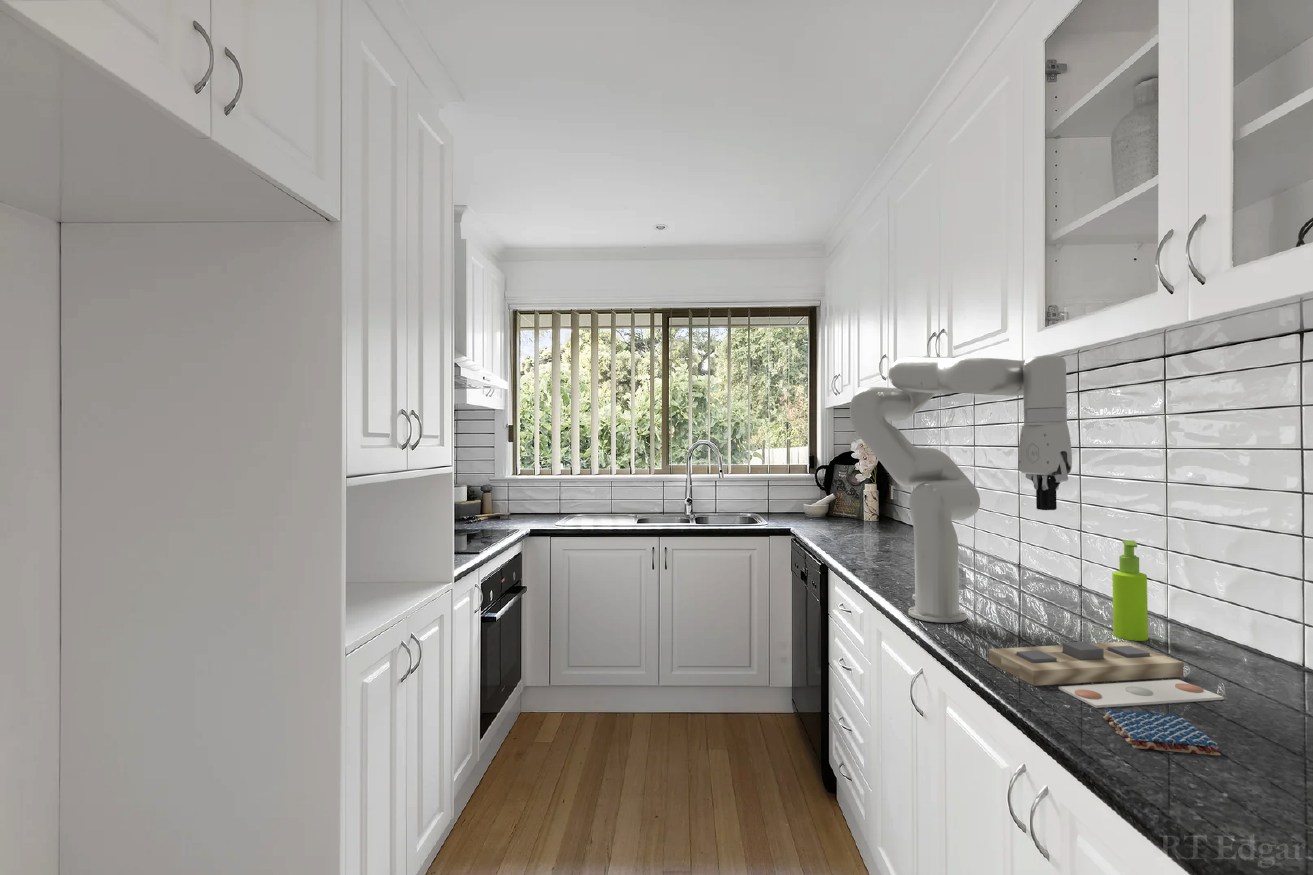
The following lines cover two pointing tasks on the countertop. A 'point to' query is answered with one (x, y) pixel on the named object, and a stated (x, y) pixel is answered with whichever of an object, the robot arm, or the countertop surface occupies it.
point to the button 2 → (1083, 651)
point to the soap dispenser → (1130, 597)
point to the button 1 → (1036, 656)
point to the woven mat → (1160, 732)
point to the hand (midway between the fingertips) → (1046, 509)
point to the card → (1139, 693)
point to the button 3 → (1128, 651)
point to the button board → (1085, 666)
